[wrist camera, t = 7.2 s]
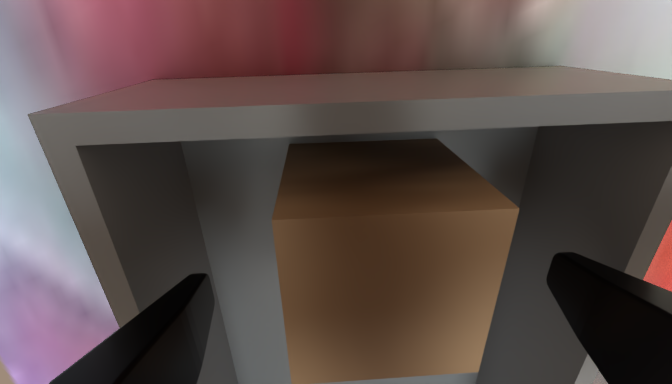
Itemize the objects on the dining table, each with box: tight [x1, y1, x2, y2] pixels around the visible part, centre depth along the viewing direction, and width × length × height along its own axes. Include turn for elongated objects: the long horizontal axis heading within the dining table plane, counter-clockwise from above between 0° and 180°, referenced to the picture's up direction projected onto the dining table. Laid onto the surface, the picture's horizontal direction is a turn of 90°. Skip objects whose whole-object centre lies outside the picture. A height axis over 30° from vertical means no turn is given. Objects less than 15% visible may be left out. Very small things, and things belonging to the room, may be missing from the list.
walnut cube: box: [272, 138, 520, 384], centre depth 10 cm, size 5×5×5 cm
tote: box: [28, 66, 672, 384], centre depth 12 cm, size 17×13×5 cm
